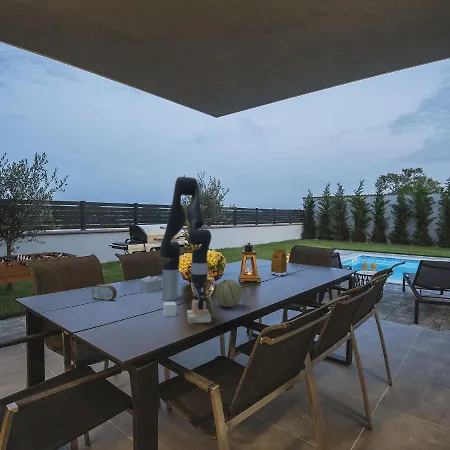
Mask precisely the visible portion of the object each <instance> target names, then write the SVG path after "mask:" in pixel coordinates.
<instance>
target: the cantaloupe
mask: <svg viewBox="0 0 450 450" xmlns="http://www.w3.org/2000/svg"><path fill="white" fill-rule="evenodd" d="M214 296H215V299H216V300H215V301H217V303H218V304H219V305H220V306H222V307H223V308H233V306H234V307H236V306H237V305H239V304H240V302H241V300H242V299H243V290H242V287H241V285H240V284H239V283H238V282H237V281H236V280H234V279H223V281H220V282H219V283H218V284H217V285H216V287H215V290H214Z"/></svg>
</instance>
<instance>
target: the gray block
mask: <svg viewBox="0 0 450 450" xmlns="http://www.w3.org/2000/svg"><path fill="white" fill-rule="evenodd" d="M186 319H187V322H189V323H188V325H194V324H193V323H204V322H211V323H212V315H211V313H210V310H209V309H207V308H206V314H204V315H194V314H193V312H192V309H187V310H186Z"/></svg>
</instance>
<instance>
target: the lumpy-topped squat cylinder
mask: <svg viewBox="0 0 450 450" xmlns="http://www.w3.org/2000/svg"><path fill="white" fill-rule="evenodd" d="M160 291H163V277H159V276H156V275H155V276H151V275H149V276H145V277H143V278H141V279H140V292H143V293H146V294H147V293H149V294H150V293H151V294H152V293H156V292H160Z"/></svg>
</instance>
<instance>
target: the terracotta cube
mask: <svg viewBox="0 0 450 450" xmlns="http://www.w3.org/2000/svg"><path fill="white" fill-rule="evenodd" d="M206 309H207V302H206V300H205V301H203V310H199V309H198V300H195V299H192V300H191V310H192V312H193V314H194V315H204V314H206Z"/></svg>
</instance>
